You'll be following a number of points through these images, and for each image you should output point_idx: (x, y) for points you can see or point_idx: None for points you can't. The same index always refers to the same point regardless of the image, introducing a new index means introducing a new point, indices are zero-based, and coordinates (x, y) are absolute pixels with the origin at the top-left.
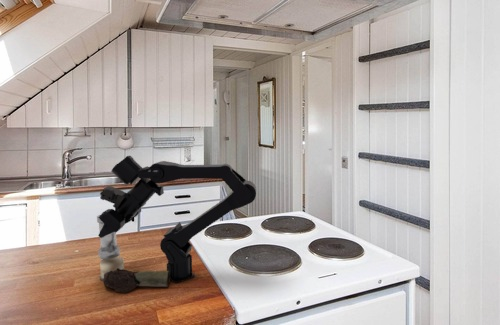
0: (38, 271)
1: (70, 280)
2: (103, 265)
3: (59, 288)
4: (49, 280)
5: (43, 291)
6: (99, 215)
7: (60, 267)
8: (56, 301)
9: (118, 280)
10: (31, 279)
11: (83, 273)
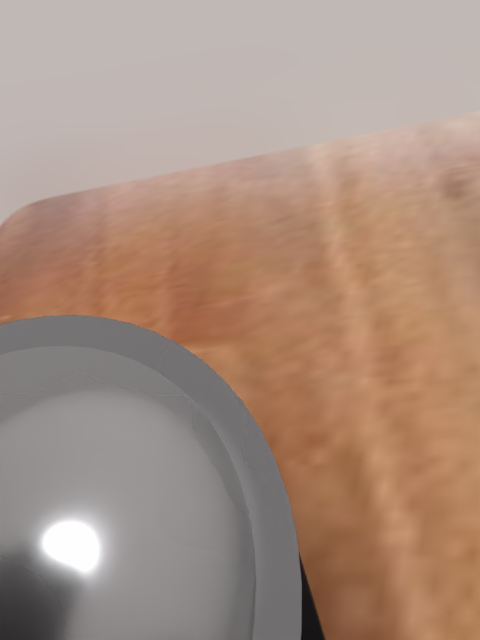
0: (360, 212)
1: (231, 327)
2: None
3: (169, 301)
4: (260, 258)
5: (168, 257)
6: (155, 363)
7: (385, 273)
8: (60, 308)
9: None
10: (290, 206)
11: (291, 369)
